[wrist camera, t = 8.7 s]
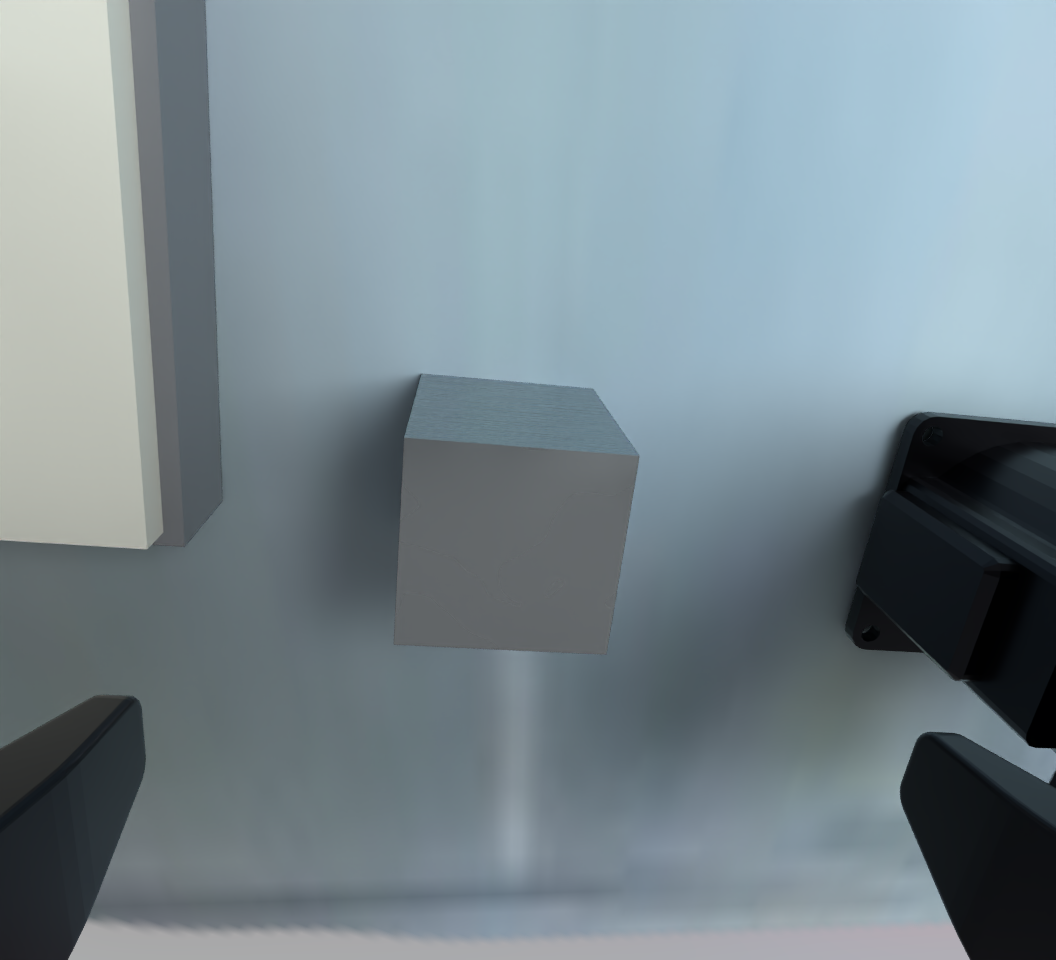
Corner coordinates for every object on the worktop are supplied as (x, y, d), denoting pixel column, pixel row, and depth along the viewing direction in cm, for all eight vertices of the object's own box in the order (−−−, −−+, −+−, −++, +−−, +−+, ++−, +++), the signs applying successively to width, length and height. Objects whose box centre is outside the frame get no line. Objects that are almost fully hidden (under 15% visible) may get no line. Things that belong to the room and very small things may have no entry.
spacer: (592, 388, 17) (639, 456, 13) (571, 541, 19) (606, 654, 14) (421, 373, 17) (404, 437, 12) (412, 531, 18) (393, 644, 13)
